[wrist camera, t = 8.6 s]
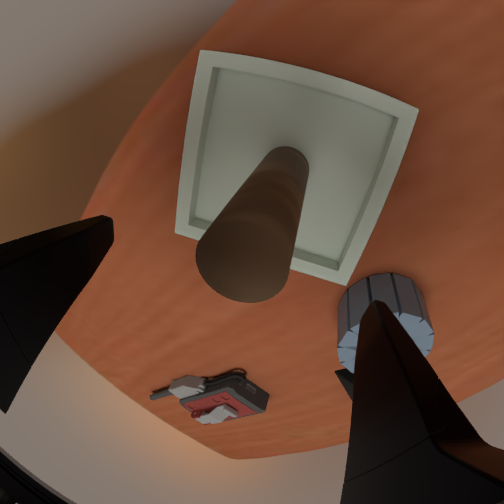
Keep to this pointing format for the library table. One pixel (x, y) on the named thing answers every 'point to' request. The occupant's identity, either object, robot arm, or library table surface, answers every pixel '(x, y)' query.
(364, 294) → the ring
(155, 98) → the library table surface
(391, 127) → the tray
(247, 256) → the dowel
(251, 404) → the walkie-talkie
